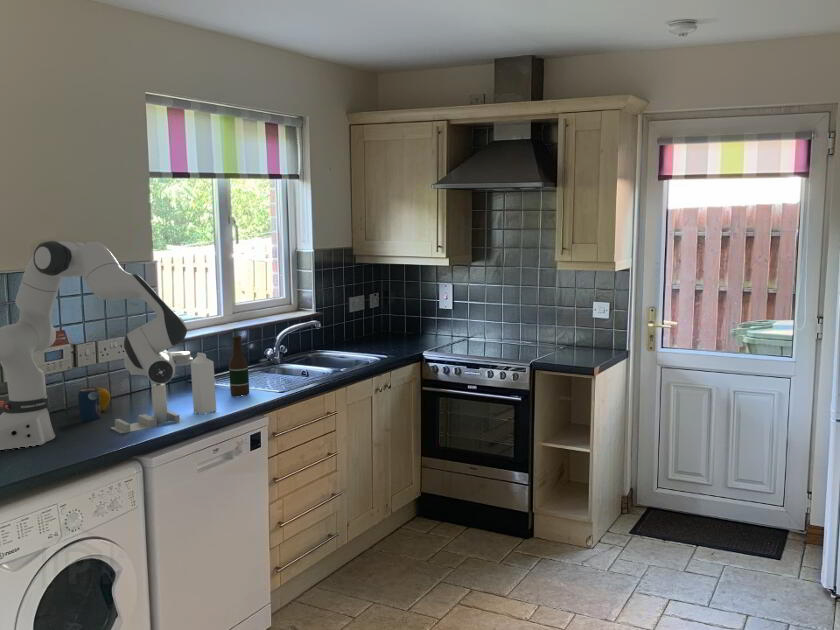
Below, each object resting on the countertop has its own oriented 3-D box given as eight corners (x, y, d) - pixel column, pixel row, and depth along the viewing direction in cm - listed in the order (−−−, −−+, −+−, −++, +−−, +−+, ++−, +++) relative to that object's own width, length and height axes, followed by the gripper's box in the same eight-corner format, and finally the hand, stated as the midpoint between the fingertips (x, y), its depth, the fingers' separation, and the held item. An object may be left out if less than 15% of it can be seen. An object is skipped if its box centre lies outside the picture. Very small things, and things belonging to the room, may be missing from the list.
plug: (157, 424, 272) (154, 378, 269) (152, 421, 275) (148, 376, 273) (170, 421, 275) (166, 376, 272) (164, 419, 278) (161, 374, 276)
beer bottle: (236, 397, 316) (232, 338, 313) (226, 394, 322) (223, 336, 319) (253, 394, 321) (250, 335, 318) (243, 391, 327) (240, 333, 324)
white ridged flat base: (122, 438, 261) (121, 426, 261) (109, 431, 270) (108, 420, 269) (185, 425, 275) (185, 414, 275) (172, 419, 284) (171, 408, 283)
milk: (207, 409, 298) (204, 351, 296) (216, 411, 294) (213, 352, 292) (193, 412, 294) (189, 353, 291) (202, 414, 290) (198, 355, 287)
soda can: (102, 422, 282) (100, 389, 281) (81, 425, 279) (79, 392, 277) (99, 418, 288) (96, 386, 287) (78, 421, 285) (75, 388, 283)
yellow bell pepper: (116, 409, 302) (114, 386, 301) (98, 414, 294) (96, 391, 293) (100, 407, 306) (99, 384, 305) (82, 412, 298) (80, 389, 297)
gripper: (193, 350, 251) (189, 344, 264) (123, 354, 244) (124, 347, 257) (193, 370, 251) (190, 363, 264) (124, 375, 245) (124, 367, 257)
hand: (157, 355), depth 260 cm, fingers open, 8 cm apart
